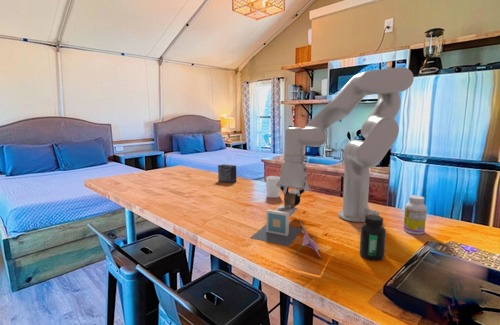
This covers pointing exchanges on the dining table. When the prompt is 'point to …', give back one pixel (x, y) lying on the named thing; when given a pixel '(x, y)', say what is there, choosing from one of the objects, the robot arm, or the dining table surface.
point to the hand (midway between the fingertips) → (291, 203)
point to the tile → (277, 222)
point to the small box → (227, 173)
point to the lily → (309, 242)
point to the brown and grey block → (288, 203)
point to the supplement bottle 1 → (373, 238)
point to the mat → (277, 236)
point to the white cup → (272, 186)
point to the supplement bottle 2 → (415, 215)
